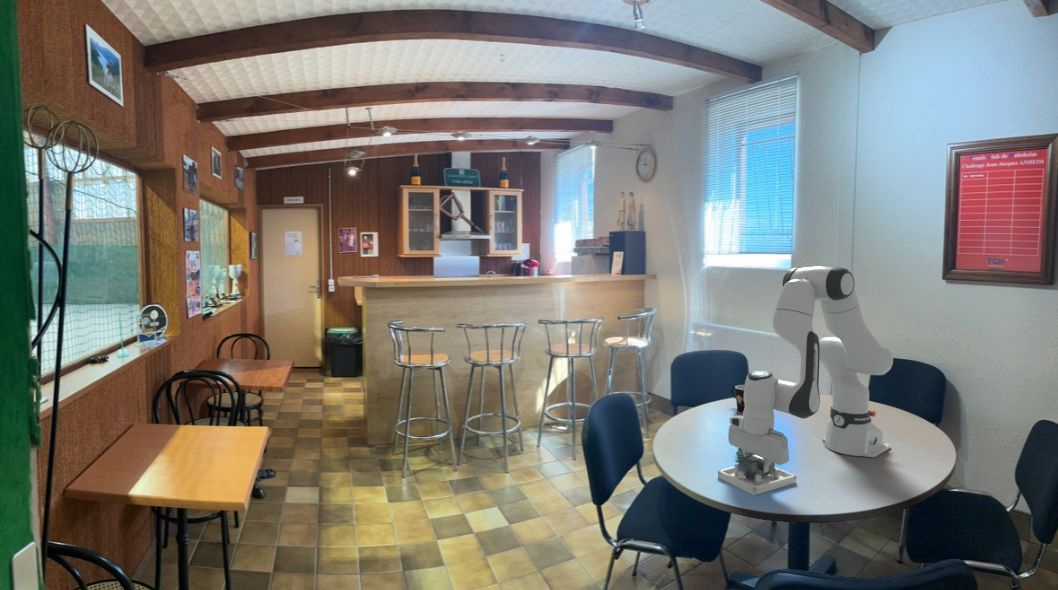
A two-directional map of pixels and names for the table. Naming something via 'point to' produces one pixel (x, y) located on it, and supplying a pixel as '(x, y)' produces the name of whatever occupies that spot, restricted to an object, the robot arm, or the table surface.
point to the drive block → (753, 466)
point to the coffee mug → (739, 397)
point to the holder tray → (751, 482)
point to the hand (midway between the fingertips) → (756, 468)
